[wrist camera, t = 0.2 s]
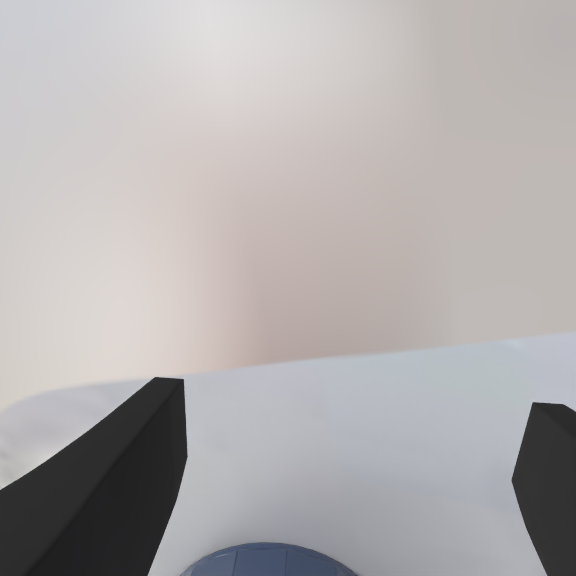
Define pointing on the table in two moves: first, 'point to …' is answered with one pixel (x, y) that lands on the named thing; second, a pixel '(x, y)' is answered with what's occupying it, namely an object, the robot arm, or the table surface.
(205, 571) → the canister
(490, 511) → the table surface
